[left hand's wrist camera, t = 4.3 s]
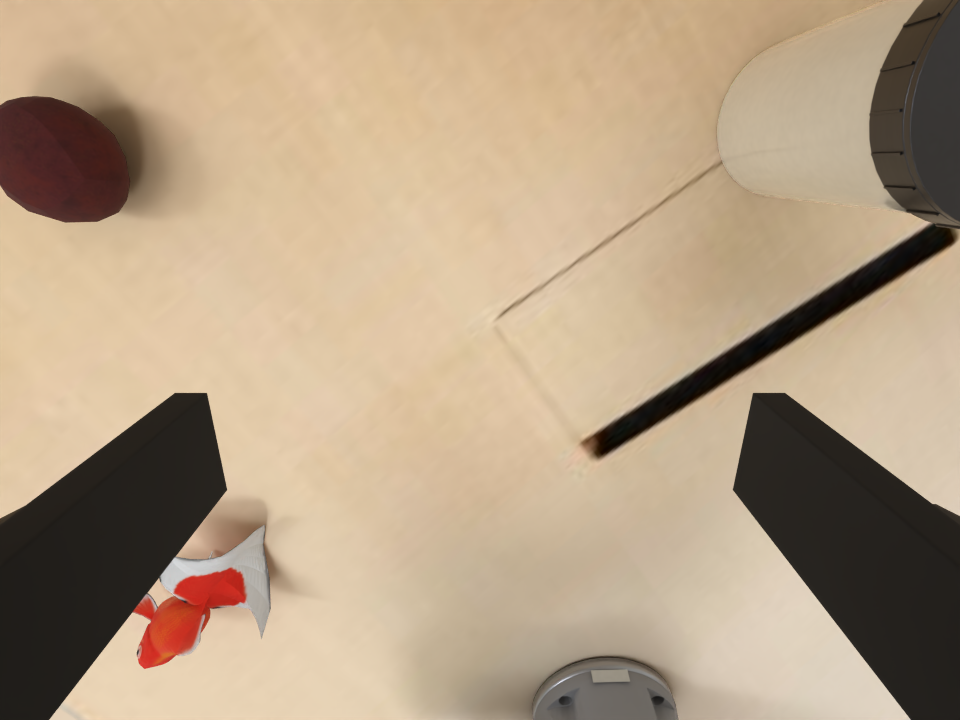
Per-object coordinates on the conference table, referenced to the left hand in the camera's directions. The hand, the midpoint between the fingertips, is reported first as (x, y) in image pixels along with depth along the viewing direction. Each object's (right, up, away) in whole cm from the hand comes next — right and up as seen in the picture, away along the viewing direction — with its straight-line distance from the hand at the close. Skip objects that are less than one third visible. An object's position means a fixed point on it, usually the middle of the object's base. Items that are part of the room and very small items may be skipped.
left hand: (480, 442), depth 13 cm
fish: (-25, -17, +37) cm, 47 cm away
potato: (-27, +16, +24) cm, 39 cm away
